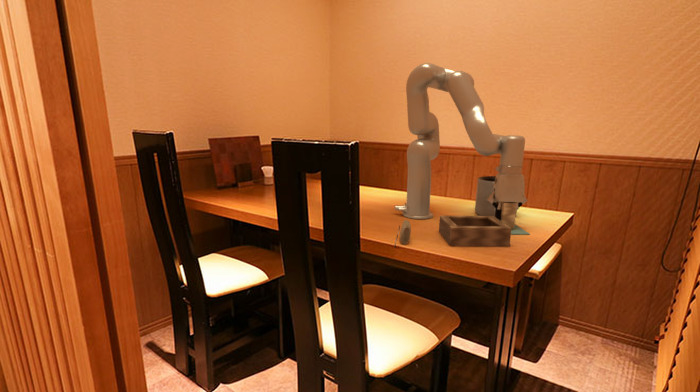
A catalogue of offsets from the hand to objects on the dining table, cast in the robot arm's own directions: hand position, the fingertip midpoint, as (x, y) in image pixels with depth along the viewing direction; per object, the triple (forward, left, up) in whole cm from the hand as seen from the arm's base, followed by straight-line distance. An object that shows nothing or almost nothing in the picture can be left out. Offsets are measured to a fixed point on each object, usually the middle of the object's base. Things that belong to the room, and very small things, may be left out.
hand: (505, 219), depth 136 cm
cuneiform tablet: (-40, -16, -4) cm, 43 cm away
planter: (+4, +20, -4) cm, 21 cm away
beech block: (0, 0, -2) cm, 2 cm away
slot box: (-16, -12, -4) cm, 20 cm away
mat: (0, 0, -4) cm, 4 cm away
